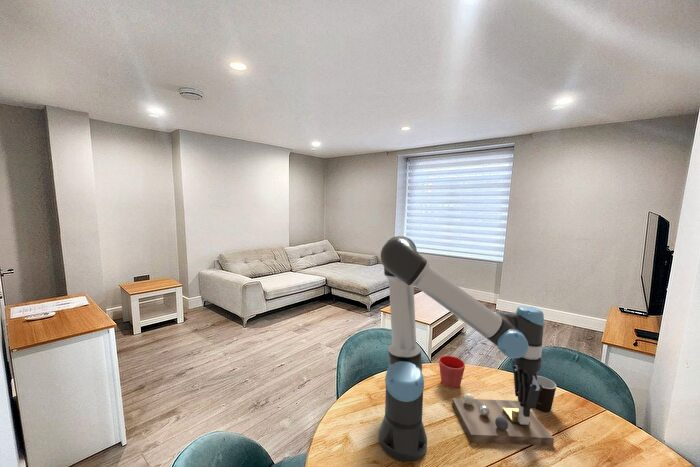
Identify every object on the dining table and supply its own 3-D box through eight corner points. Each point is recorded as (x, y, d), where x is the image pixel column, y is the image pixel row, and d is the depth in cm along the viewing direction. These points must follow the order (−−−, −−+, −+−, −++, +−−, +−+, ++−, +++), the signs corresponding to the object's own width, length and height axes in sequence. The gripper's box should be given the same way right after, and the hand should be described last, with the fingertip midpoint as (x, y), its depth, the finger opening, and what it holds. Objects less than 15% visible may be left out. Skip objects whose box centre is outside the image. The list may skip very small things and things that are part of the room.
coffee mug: (559, 416, 103) (561, 390, 102) (533, 412, 105) (534, 387, 104) (544, 396, 114) (545, 372, 114) (520, 393, 116) (522, 370, 115)
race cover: (511, 422, 96) (512, 411, 96) (502, 409, 102) (503, 399, 102) (529, 422, 96) (530, 412, 95) (519, 410, 102) (520, 400, 101)
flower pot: (466, 381, 124) (467, 359, 124) (461, 394, 115) (462, 371, 114) (441, 373, 130) (442, 353, 129) (435, 385, 121) (435, 363, 120)
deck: (470, 441, 91) (471, 434, 90) (452, 404, 109) (452, 398, 108) (553, 445, 90) (553, 438, 90) (520, 407, 108) (521, 400, 108)
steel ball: (481, 418, 97) (481, 409, 97) (477, 412, 101) (477, 403, 101) (491, 419, 97) (491, 409, 97) (486, 412, 101) (487, 403, 101)
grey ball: (498, 433, 91) (498, 421, 91) (492, 424, 95) (493, 413, 95) (510, 433, 91) (510, 422, 91) (504, 424, 95) (504, 414, 95)
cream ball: (465, 407, 103) (465, 397, 103) (461, 400, 107) (462, 390, 107) (475, 407, 103) (476, 397, 103) (471, 400, 107) (472, 391, 107)
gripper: (552, 365, 86) (547, 438, 88) (527, 345, 99) (523, 409, 101) (527, 364, 86) (523, 437, 88) (505, 344, 99) (502, 408, 101)
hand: (523, 422), depth 94 cm, fingers closed
